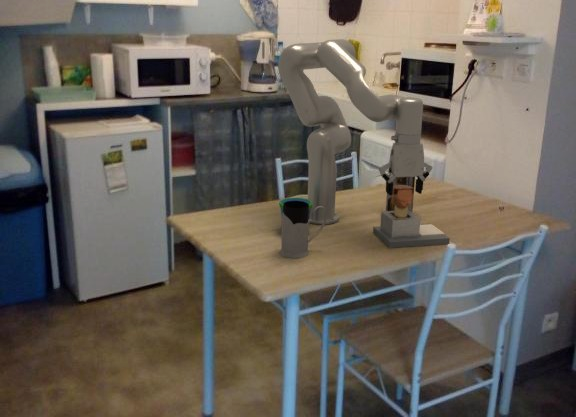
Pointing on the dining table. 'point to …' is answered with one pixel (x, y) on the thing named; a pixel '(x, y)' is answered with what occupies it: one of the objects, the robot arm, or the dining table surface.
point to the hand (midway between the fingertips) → (404, 193)
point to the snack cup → (295, 200)
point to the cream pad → (429, 231)
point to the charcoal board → (410, 239)
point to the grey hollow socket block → (400, 225)
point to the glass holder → (296, 229)
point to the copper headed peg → (402, 200)
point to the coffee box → (400, 181)
